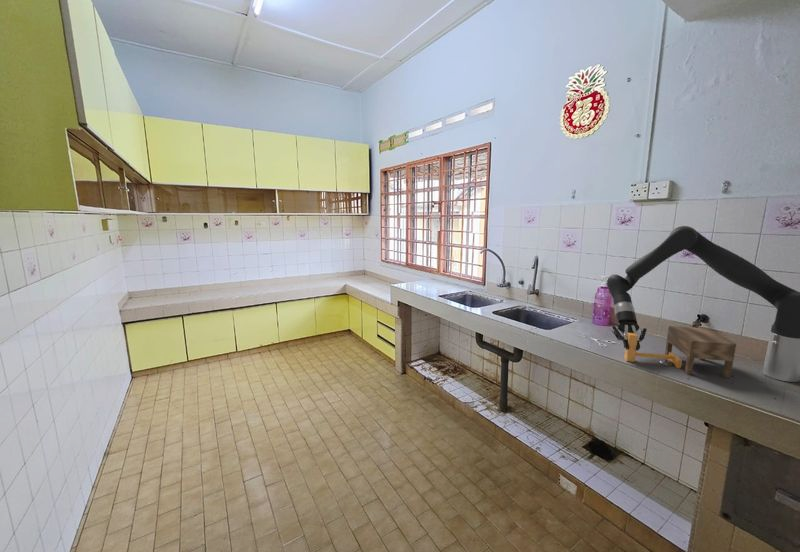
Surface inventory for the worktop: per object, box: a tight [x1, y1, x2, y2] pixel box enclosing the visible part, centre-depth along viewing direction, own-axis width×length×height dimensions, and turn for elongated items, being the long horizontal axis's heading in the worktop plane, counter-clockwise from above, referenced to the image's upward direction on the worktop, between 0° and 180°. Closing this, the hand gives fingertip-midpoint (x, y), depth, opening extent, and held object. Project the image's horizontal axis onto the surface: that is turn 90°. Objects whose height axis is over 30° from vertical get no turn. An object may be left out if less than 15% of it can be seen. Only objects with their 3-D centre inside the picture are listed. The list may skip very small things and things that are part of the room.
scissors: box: [573, 332, 621, 348], centre depth 168 cm, size 11×1×20 cm
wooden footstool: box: [664, 325, 737, 379], centre depth 136 cm, size 14×18×14 cm
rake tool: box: [623, 333, 683, 369], centre depth 141 cm, size 19×8×12 cm, turn 74°
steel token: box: [657, 358, 674, 367], centre depth 141 cm, size 5×5×1 cm
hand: (632, 349), depth 141 cm, fingers closed on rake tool, 3 cm apart
